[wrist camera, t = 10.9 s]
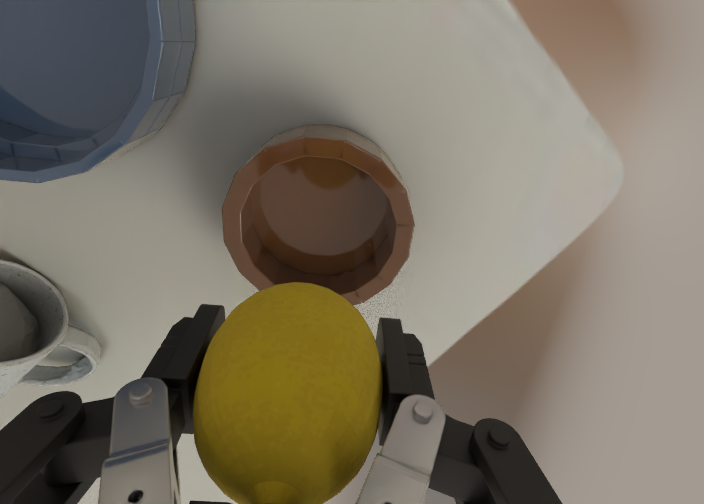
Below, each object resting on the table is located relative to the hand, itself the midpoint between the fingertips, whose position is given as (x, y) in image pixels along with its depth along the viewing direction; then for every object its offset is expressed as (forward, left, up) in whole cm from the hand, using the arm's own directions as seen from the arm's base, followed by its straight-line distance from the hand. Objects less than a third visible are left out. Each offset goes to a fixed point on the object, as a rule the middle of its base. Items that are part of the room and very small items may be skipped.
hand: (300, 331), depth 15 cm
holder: (0, 0, -12) cm, 12 cm away
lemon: (0, 0, -2) cm, 2 cm away
